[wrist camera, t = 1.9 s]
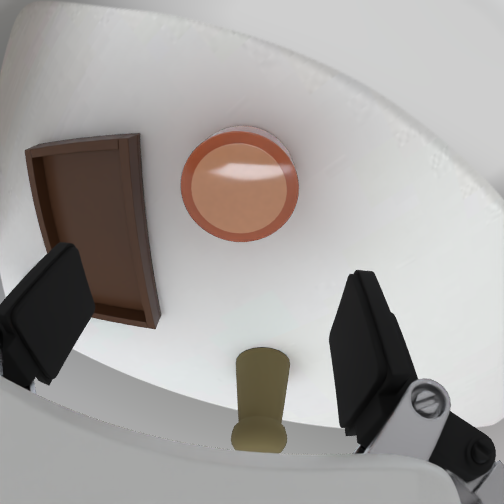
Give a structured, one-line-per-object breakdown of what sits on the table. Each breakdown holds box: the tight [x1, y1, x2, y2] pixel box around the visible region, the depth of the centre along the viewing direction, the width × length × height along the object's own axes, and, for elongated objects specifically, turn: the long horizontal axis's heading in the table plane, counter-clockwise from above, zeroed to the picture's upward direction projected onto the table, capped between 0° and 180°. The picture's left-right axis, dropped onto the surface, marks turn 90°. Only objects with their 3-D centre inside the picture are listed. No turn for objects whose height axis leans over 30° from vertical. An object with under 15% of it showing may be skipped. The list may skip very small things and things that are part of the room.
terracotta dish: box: [181, 126, 299, 242], centre depth 18 cm, size 7×7×4 cm
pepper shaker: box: [231, 348, 290, 454], centre depth 26 cm, size 6×6×11 cm
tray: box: [25, 133, 161, 329], centre depth 23 cm, size 11×18×2 cm, turn 177°
